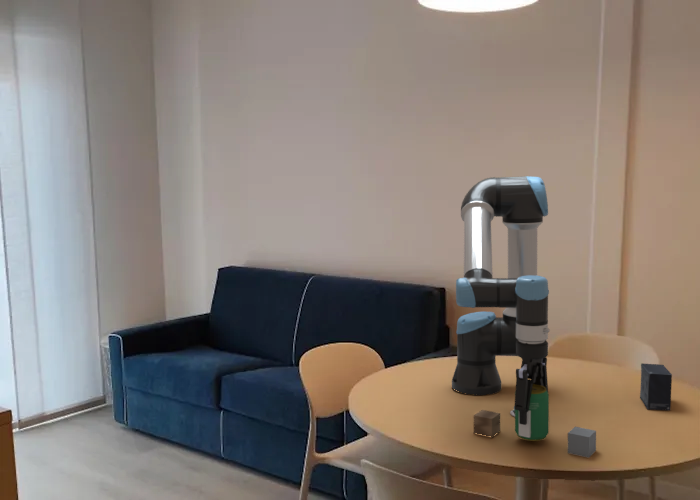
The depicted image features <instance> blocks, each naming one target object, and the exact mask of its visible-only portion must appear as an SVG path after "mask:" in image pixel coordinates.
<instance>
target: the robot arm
mask: <svg viewBox="0 0 700 500" xmlns="http://www.w3.org/2000/svg"><path fill="white" fill-rule="evenodd" d="M546 189H547V188H546V186H545V182H544V180H543V179H542V178H541V177H540V176H530V175H529V176H527V175H526V176H525V175H524V176H505V177H504V176H501V177H496V176H494V177H491V176H490V177H487V178H484V179H481V180H480V181H478V182H477V183H476V184H474V185H472V187H471V188H470V189H469V190H468V191H467V193H466V194H465V195H464V198H463V199H462V202H461V206H460V218H461V220H462V221H463V277H460V278H457V279H456V280H455V282H456V283H455V301H456V305H457V306H458V307H461V308H472V309H473V308H474V309H475V308H504V310H503V311H502V317H499V316H498V317H497V315H496V314H495V312H493V311H475V312H470V313H467V314H464V315H461V316H459V317H458V319H457V321H456V322H457V323H456V337H457V338H456V340H457V341H456V343H457V344H456V347H457V348H456V351H457V352H456V355H457V356H456V360H457V361H456V363H457V364H456V366H455V369H454V372H453V376H452V379H451V388H453V389H455V390H457V391H459V392H462V393H461V394H463V393H466V394H465V395H468V394H474V395H473V396H487V395H486V394H489V395H493V393H494V394H497V393H499V392H501V390H502V379H501V376H500V374H499V371H498V367H497V365H496V362H497V361H496V356H498V357H499V356H501V357H502V356H503V357H518V358H520V359H521V366H520V368H516V369H515V378H516V379H515V392H514V406H513V410H514V409H515V410H519V436H524V437H528V438H530V437H531V411H530V410H529V405H530V398H531V392H532V386H533V384H535V385H542V386H544V387H545V388H546V390H547V392H548V393H549V385H548V373H547V372H548V371H547V369H548V367H547V364H548V358H547V357H548V355H549V343H548V341H547V340H548V339H549V338H548V337H549V336H548V335H549V334H548V333H549V332H550V331H551V330H550V328H549V327H548V326H549V320H548V319H549V313H548V312H549V294H550V291H549V281H548V279H547V278H546V277H545V276H541V275H538V229H539V226H541V225H542V224H543V222H544V219H543V218H544V217H547V216H548V214H549V204H548V195H547V190H546ZM495 217H499V218H500V217H502V219H501V221H502V224H503V225H504V226H506V228H507V277H506V278H505V277H504V278H503V277H502V278H501V277H499V278H497V277H495V278H494V277H493V276H494V275H493V252H492V251H493V249H492V247H493V246H492V242H493V241H492V221H493V219H495ZM453 389H452V390H453ZM455 390H454V391H455ZM459 392H458V393H459Z"/></svg>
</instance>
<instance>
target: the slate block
mask: <svg viewBox="0 0 700 500" xmlns="http://www.w3.org/2000/svg"><path fill="white" fill-rule="evenodd" d="M596 451H597V430H595V429H589V428H585V427H579V426H574V427H573V428H571V429H570V430H569V431H568V432H567V454H570V455H575V456H580V457H583V458H590V457H591V456H592V455H593V454H594V453H596Z"/></svg>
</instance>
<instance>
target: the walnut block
mask: <svg viewBox="0 0 700 500" xmlns="http://www.w3.org/2000/svg"><path fill="white" fill-rule="evenodd" d="M499 431H500V432H501V413H499V412H495V411H491V410H486V409H481V410H480V411H478V412H476V413H475V414H473V434H474V433H477V434H482V435H486V436H491V437H492V436H494V435H495V434H496V433H498V432H499ZM500 432H499V433H500ZM499 433H498V434H499ZM496 435H497V434H496ZM496 435H495V436H496ZM495 436H494V437H495ZM492 438H493V437H492Z"/></svg>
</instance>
